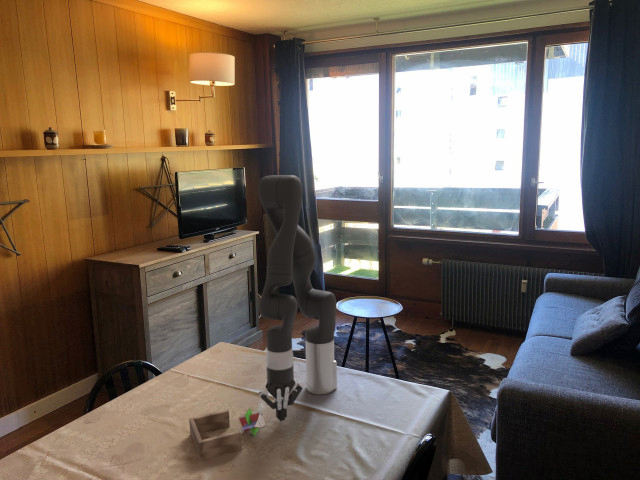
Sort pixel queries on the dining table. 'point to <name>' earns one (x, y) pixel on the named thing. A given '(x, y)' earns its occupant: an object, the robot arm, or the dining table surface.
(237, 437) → the box
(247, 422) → the geometric puzzle
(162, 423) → the dining table surface
